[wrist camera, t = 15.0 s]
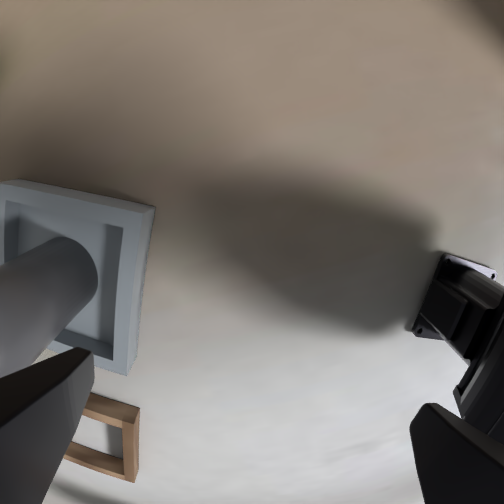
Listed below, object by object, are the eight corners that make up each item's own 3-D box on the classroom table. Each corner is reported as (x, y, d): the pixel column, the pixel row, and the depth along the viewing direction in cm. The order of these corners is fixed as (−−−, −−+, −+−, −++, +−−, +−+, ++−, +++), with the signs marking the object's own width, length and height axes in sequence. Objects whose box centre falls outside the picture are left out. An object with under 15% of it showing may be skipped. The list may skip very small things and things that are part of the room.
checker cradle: (139, 408, 23) (133, 424, 21) (138, 468, 26) (134, 483, 24) (37, 371, 22) (27, 384, 20) (52, 438, 25) (45, 450, 23)
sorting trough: (155, 206, 19) (143, 213, 16) (136, 356, 22) (126, 376, 19) (18, 178, 18) (-3, 182, 15) (17, 314, 21) (1, 328, 18)
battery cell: (111, 271, 19) (-33, 421, 5) (78, 320, 20) (-36, 462, 6) (56, 221, 18) (-118, 309, 4) (29, 274, 19) (-108, 379, 5)
